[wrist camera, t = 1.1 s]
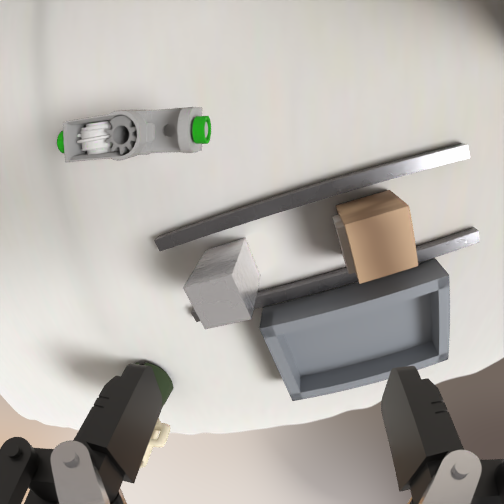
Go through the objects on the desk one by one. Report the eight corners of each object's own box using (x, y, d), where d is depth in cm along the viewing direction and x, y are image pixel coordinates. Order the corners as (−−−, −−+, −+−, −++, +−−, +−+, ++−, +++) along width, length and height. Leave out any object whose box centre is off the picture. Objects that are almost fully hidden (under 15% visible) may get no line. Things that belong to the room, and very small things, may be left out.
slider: (389, 189, 25) (409, 206, 20) (399, 241, 26) (418, 265, 22) (329, 207, 26) (336, 227, 22) (343, 258, 28) (352, 285, 23)
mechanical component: (235, 143, 25) (202, 158, 16) (126, 146, 26) (56, 165, 17) (235, 108, 24) (202, 103, 15) (125, 115, 25) (53, 121, 16)
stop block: (245, 237, 28) (231, 274, 22) (260, 275, 30) (251, 319, 23) (206, 249, 29) (183, 287, 23) (222, 285, 31) (205, 329, 24)
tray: (434, 258, 27) (449, 274, 24) (438, 339, 31) (448, 359, 27) (263, 307, 31) (259, 328, 28) (293, 378, 35) (292, 400, 32)
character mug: (180, 356, 36) (143, 442, 24) (198, 394, 38) (172, 475, 27) (110, 356, 38) (66, 426, 26) (132, 391, 40) (97, 459, 29)
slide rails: (462, 143, 22) (467, 144, 21) (474, 238, 25) (479, 242, 24) (158, 236, 29) (154, 240, 28) (198, 316, 33) (196, 321, 32)
